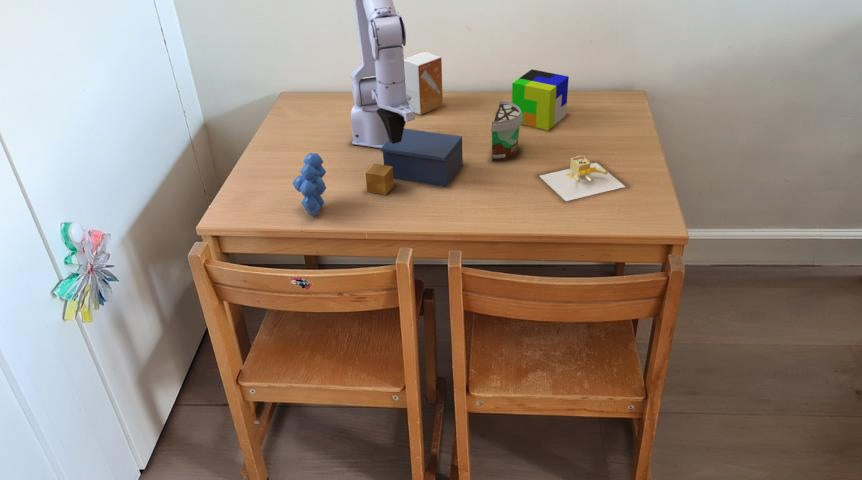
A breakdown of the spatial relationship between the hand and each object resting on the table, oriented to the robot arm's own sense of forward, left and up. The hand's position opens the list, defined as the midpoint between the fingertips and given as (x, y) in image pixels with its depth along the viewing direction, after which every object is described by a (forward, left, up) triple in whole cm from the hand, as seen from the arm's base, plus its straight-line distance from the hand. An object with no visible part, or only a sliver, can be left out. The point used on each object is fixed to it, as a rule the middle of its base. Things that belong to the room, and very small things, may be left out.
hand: (395, 141), depth 160 cm
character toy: (+37, +13, -10) cm, 41 cm away
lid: (+3, +6, -3) cm, 8 cm away
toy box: (+3, +7, -10) cm, 12 cm away
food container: (+18, +21, -10) cm, 30 cm away
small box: (-10, +39, -10) cm, 41 cm away
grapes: (-13, -15, -10) cm, 22 cm away
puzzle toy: (+20, +41, -10) cm, 46 cm away
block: (-3, -3, -10) cm, 11 cm away
